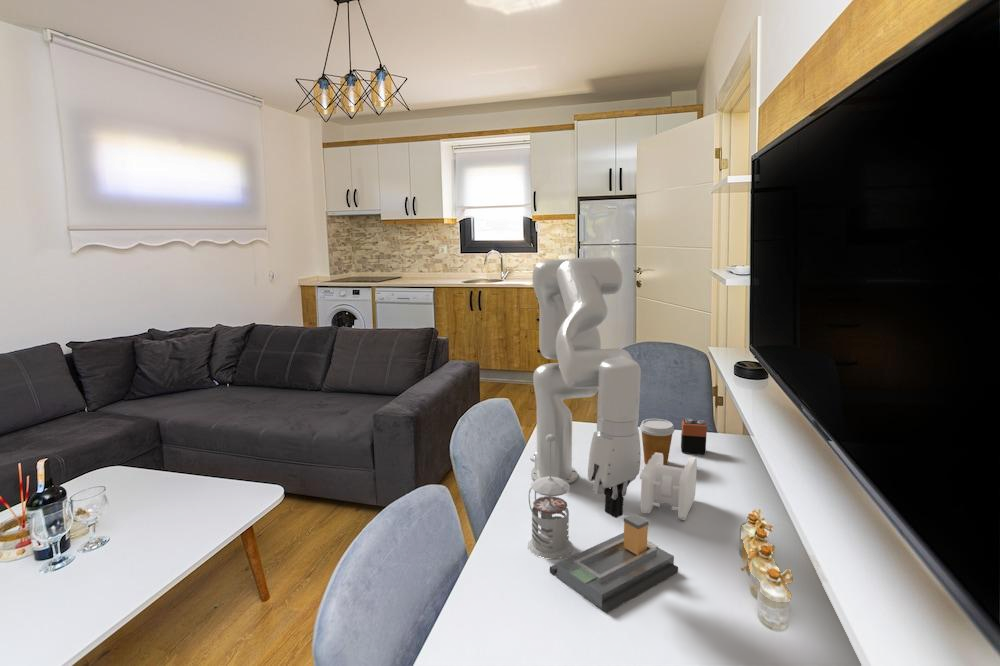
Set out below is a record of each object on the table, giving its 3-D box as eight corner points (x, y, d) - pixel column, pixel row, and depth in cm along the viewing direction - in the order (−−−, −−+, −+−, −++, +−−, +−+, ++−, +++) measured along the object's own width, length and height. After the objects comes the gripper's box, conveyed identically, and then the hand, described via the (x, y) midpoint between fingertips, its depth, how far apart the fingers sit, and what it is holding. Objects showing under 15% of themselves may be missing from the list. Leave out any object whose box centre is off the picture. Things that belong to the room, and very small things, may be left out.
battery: (680, 448, 175) (682, 416, 174) (703, 449, 174) (705, 418, 172) (681, 453, 171) (683, 421, 169) (705, 455, 170) (707, 423, 168)
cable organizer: (684, 527, 129) (686, 479, 127) (637, 516, 134) (639, 470, 132) (695, 499, 142) (698, 455, 140) (653, 491, 147) (654, 448, 145)
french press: (545, 564, 115) (545, 447, 111) (513, 538, 125) (512, 429, 121) (582, 549, 121) (584, 437, 116) (549, 526, 130) (549, 421, 126)
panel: (556, 577, 111) (556, 559, 110) (627, 543, 123) (628, 526, 122) (601, 610, 101) (601, 589, 101) (674, 569, 113) (674, 551, 112)
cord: (549, 572, 113) (549, 566, 112) (619, 539, 124) (619, 534, 124) (553, 575, 112) (553, 569, 111) (623, 541, 123) (623, 536, 123)
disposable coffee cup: (676, 461, 166) (678, 421, 163) (667, 472, 158) (669, 431, 155) (644, 454, 171) (646, 416, 168) (633, 465, 163) (635, 425, 160)
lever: (622, 547, 115) (623, 517, 114) (632, 542, 117) (633, 513, 116) (637, 555, 112) (638, 525, 111) (647, 550, 114) (648, 520, 113)
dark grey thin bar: (601, 609, 101) (601, 603, 101) (672, 569, 113) (673, 564, 113) (606, 613, 101) (606, 606, 100) (677, 572, 112) (678, 567, 112)
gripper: (629, 410, 114) (625, 494, 118) (574, 427, 105) (571, 517, 109) (659, 421, 108) (654, 510, 112) (603, 440, 99) (600, 535, 103)
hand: (613, 513), depth 110 cm, fingers closed
